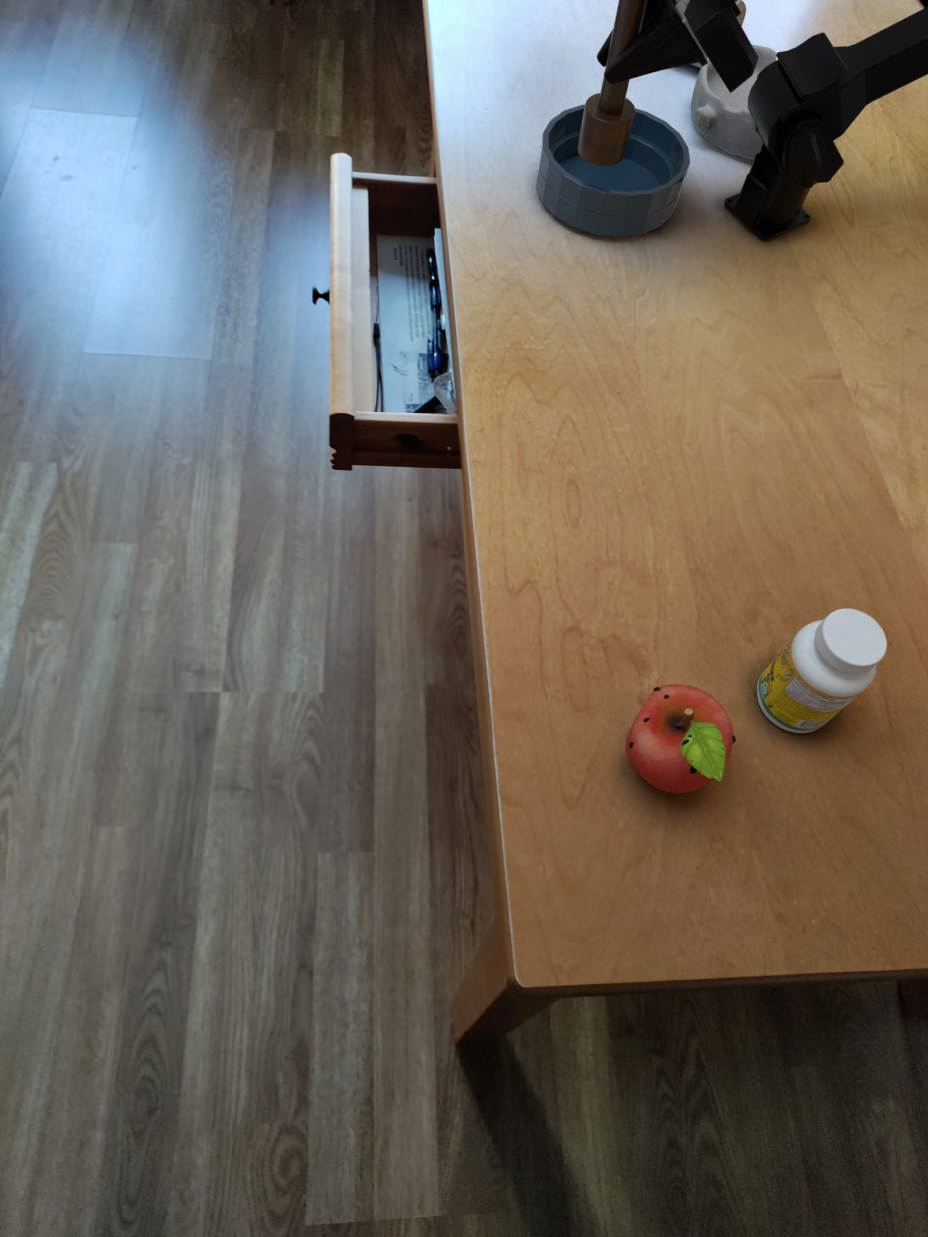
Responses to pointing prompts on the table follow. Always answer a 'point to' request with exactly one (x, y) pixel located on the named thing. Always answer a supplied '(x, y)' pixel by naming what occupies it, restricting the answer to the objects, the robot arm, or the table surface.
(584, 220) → the bowl
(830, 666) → the supplement bottle
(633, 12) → the pestle
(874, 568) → the table surface
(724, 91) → the dish
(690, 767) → the apple
